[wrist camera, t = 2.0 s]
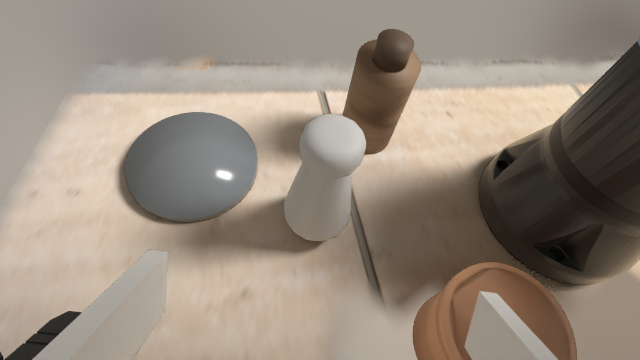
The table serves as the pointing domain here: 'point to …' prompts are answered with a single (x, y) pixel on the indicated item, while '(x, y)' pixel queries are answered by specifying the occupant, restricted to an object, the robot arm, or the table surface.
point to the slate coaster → (191, 167)
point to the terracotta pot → (459, 303)
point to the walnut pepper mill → (382, 86)
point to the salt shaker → (324, 177)
